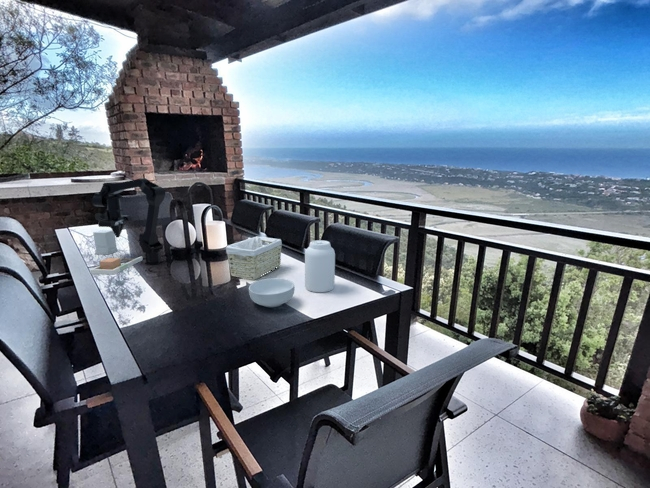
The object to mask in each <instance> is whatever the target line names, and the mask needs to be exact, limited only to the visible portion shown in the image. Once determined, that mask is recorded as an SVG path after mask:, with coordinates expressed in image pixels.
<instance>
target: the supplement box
mask: <svg viewBox="0 0 650 488" xmlns="http://www.w3.org/2000/svg"><path fill="white" fill-rule="evenodd" d="M92 234H93V238H94V240H93V241H94V245H95V246H94V247H95V252H96V255H111V254H114V253H116V252H118V247H117V241H116V236H115V234H114V232H113V230H112V229H100V230H97V231H93V232H92Z"/></svg>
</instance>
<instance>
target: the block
mask: <svg viewBox="0 0 650 488" xmlns="http://www.w3.org/2000/svg"><path fill="white" fill-rule="evenodd" d="M121 263H122V261H120V258H118V257H107V258H105V259H102V260H100V261H99V266H100V268H101V269H107V270H113V269H115V268H117V267H119V266H121V265H122V264H121Z"/></svg>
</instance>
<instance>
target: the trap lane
mask: <svg viewBox="0 0 650 488" xmlns="http://www.w3.org/2000/svg"><path fill="white" fill-rule="evenodd" d="M117 258H120V261H121V262H123V261H124V262H126V263H124V264H121V266H119V267H117V268H115V269H113V270H107V269H101V268H100V265H98V266H96V267H93V268H91V269H89V272H90V274H91V275H114V276H115V274H118V273H120V272H122V271H124V270H126V269H128V268H129V267H131V266H134V265H136V264H137V263H139V262H141V261H143V256H139V257H136V258H125V255H120V256H119V257H117ZM127 261H128V262H127Z"/></svg>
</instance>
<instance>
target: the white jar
mask: <svg viewBox="0 0 650 488" xmlns="http://www.w3.org/2000/svg"><path fill="white" fill-rule="evenodd" d="M335 271H336V253H335V249H334V248H333V247H332V246H331V242H330V241H328V240H323V239H322V240H321V239H319V240H318V239H317V240H312V241H310V242H309V246H308V247H307V248H306V249H305V252H304V287H305V289H306V290H307V291H310V292H313V293H327V292H330V291H332V290H334V288H335V278H336V276H335V273H336V272H335Z"/></svg>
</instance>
